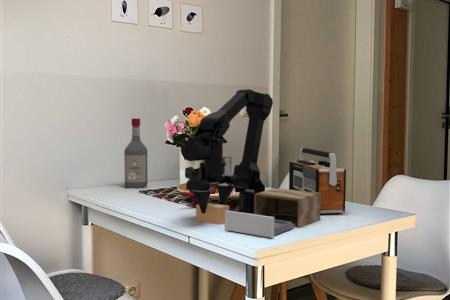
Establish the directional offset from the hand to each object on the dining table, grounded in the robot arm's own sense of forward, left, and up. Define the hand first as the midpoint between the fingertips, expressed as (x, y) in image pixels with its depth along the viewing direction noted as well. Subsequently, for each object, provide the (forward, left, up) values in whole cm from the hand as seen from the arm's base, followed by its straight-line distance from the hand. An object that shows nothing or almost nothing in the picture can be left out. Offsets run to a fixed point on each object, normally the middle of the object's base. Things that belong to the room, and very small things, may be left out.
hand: (212, 210), depth 146 cm
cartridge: (0, 0, -3) cm, 3 cm away
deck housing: (+17, +14, -3) cm, 23 cm away
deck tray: (+18, -1, -3) cm, 18 cm away
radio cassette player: (+15, +39, -3) cm, 42 cm away
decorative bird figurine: (-17, +15, -3) cm, 23 cm away
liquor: (-68, +35, -3) cm, 77 cm away
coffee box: (-21, +31, -3) cm, 38 cm away
